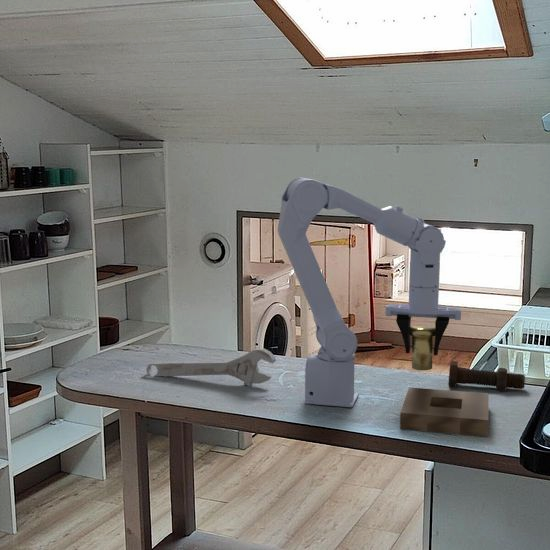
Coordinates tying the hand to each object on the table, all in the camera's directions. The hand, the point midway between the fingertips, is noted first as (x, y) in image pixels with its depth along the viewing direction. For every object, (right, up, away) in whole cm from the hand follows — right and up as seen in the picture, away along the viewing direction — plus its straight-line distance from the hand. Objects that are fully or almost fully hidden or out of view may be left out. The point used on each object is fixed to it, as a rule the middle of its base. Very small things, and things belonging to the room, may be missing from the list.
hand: (421, 353), depth 157 cm
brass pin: (0, -3, 0) cm, 3 cm away
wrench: (-43, -8, +12) cm, 45 cm away
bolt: (+14, -8, +7) cm, 18 cm away
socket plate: (+2, -11, -11) cm, 16 cm away
